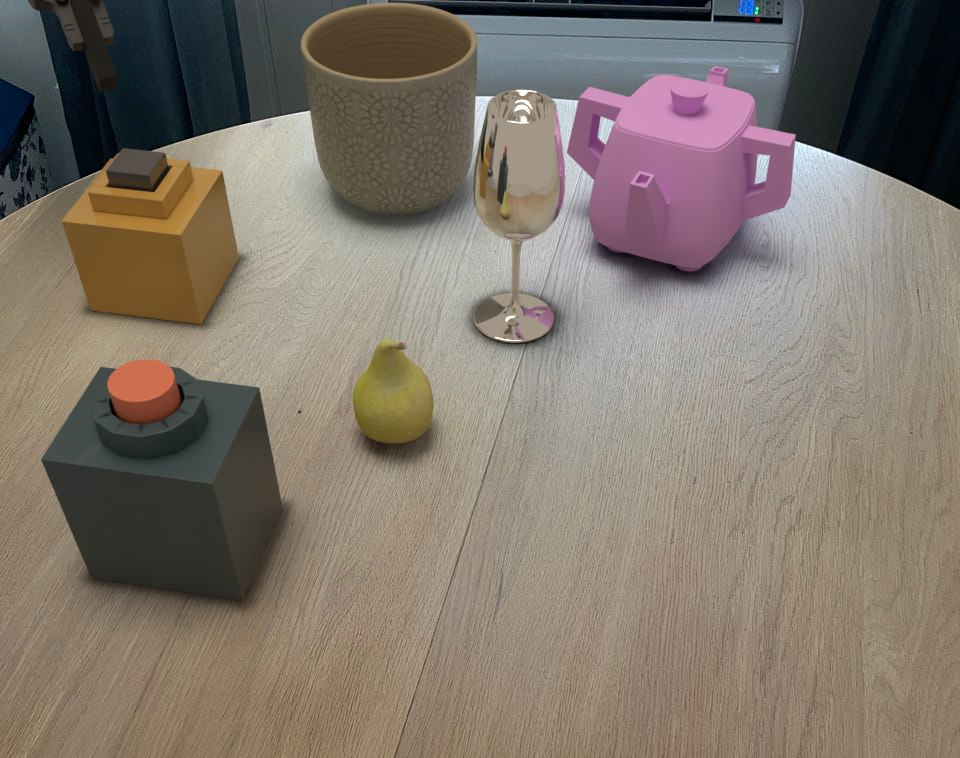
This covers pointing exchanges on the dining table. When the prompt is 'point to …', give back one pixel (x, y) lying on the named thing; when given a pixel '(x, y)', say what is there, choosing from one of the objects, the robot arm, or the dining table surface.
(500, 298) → the wineglass
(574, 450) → the dining table surface
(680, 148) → the teapot
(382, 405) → the fruit
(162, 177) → the button
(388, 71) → the planter
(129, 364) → the red button
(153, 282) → the push-button base
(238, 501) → the button box
